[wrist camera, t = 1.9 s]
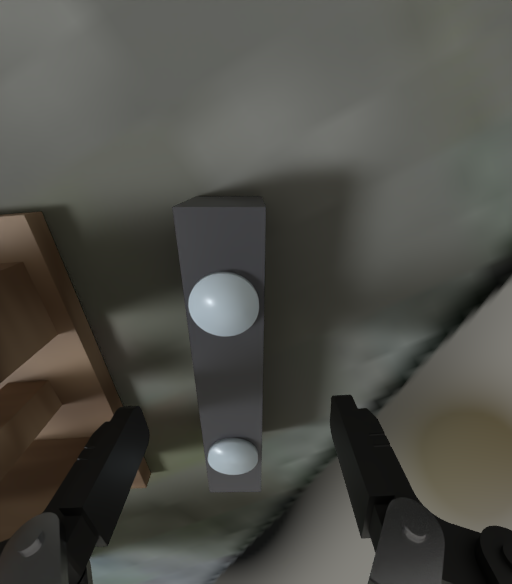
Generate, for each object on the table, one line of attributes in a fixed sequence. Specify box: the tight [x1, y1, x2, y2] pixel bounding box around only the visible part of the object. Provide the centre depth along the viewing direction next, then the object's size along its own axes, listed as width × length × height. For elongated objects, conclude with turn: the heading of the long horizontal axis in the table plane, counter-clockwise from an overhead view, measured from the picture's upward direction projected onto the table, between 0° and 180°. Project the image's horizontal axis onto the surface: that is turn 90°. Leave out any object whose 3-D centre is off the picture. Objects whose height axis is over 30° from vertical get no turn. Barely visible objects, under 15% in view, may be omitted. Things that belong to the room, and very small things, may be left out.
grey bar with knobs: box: [172, 196, 266, 492], centre depth 13 cm, size 16×3×4 cm, turn 0°
